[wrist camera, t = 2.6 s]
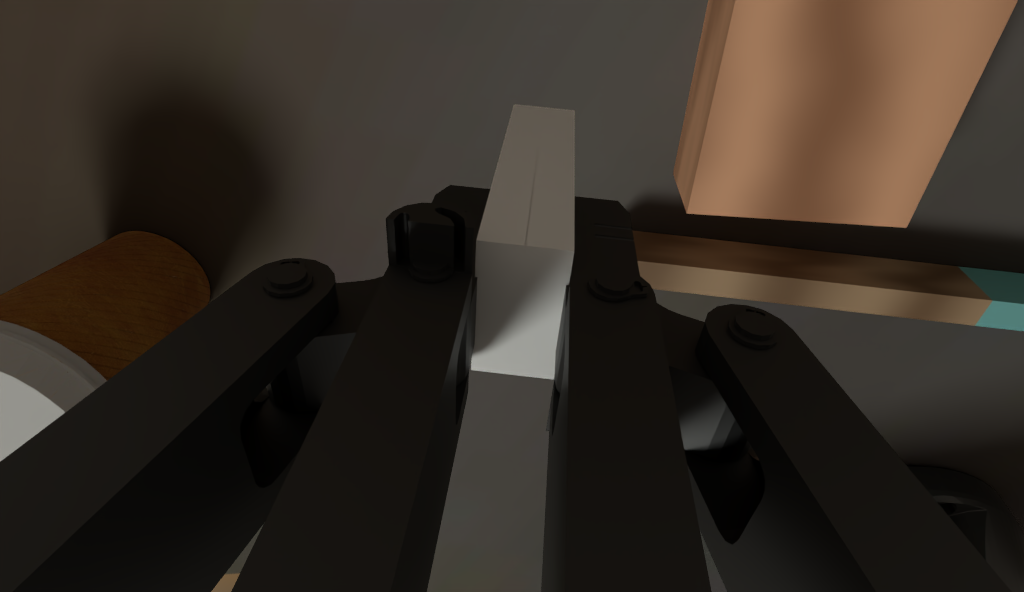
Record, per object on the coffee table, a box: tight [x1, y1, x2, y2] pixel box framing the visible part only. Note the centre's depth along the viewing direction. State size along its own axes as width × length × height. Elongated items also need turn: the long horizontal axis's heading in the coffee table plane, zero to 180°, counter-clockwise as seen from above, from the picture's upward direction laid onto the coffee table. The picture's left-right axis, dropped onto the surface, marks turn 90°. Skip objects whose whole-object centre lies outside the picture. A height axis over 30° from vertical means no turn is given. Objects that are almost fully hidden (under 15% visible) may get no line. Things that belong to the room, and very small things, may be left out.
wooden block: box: [673, 0, 1018, 228], centre depth 23 cm, size 9×9×4 cm
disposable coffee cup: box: [0, 231, 210, 461], centre depth 29 cm, size 10×10×12 cm
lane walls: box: [633, 231, 993, 326], centre depth 23 cm, size 18×19×3 cm
